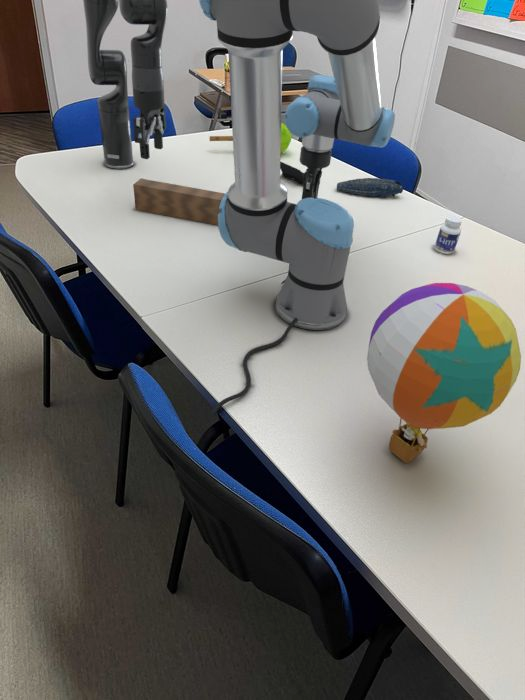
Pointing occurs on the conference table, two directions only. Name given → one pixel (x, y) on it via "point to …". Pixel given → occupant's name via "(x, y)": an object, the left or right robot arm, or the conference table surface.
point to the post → (177, 201)
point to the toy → (441, 360)
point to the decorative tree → (284, 138)
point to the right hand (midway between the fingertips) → (304, 235)
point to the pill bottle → (448, 235)
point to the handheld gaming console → (292, 172)
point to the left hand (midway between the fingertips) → (152, 153)
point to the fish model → (371, 187)
